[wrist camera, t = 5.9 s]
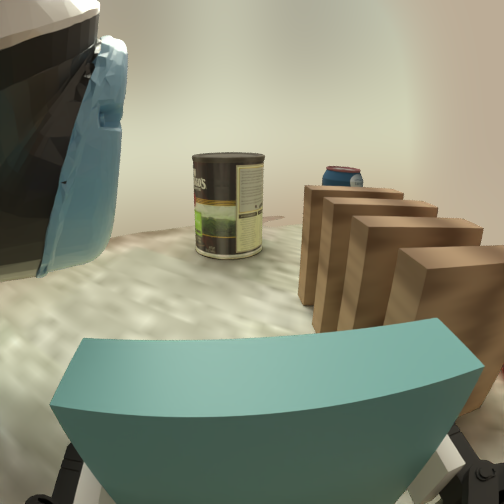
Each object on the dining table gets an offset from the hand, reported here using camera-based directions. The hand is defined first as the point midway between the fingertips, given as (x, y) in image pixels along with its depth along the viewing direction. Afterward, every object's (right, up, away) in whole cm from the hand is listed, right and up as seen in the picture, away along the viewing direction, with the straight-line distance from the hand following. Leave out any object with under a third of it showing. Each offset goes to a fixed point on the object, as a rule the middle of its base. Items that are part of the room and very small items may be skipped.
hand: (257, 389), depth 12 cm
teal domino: (0, -8, -1) cm, 8 cm away
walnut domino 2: (+11, -2, +16) cm, 20 cm away
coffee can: (-4, +6, +37) cm, 37 cm away
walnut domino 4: (+12, -6, +5) cm, 14 cm away
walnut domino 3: (+11, -4, +11) cm, 16 cm away
